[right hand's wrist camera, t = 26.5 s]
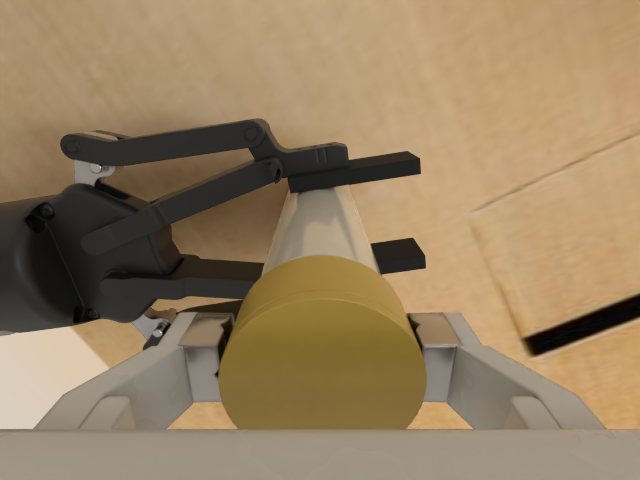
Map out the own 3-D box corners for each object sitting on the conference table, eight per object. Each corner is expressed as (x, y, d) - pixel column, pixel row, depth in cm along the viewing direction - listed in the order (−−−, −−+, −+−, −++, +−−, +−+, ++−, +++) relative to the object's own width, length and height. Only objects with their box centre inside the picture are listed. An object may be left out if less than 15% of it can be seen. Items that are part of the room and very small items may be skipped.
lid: (299, 417, 12) (295, 487, 10) (203, 309, 10) (173, 364, 8) (433, 350, 11) (462, 412, 9) (350, 221, 9) (360, 257, 7)
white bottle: (339, 229, 27) (375, 442, 10) (282, 214, 27) (221, 410, 10) (357, 173, 26) (435, 314, 9) (297, 156, 25) (256, 269, 8)
